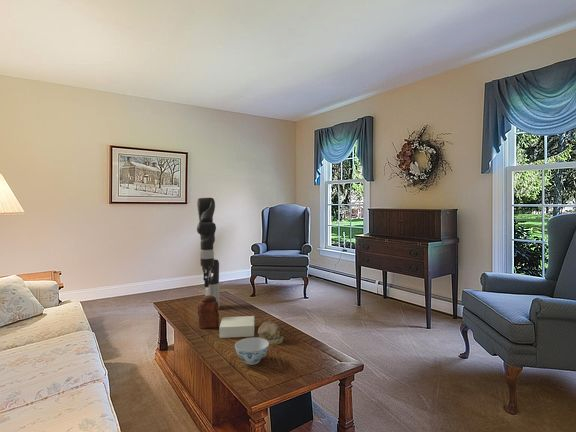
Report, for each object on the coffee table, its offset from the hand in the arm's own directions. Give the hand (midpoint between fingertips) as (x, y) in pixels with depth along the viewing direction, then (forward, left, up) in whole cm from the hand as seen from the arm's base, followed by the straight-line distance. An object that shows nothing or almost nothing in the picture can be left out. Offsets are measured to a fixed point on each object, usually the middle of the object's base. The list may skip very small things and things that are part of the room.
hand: (207, 285), depth 193 cm
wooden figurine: (0, 0, -24) cm, 24 cm away
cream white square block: (+10, +17, -24) cm, 31 cm away
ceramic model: (+25, +34, -24) cm, 48 cm away
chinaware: (+47, +25, -24) cm, 58 cm away
